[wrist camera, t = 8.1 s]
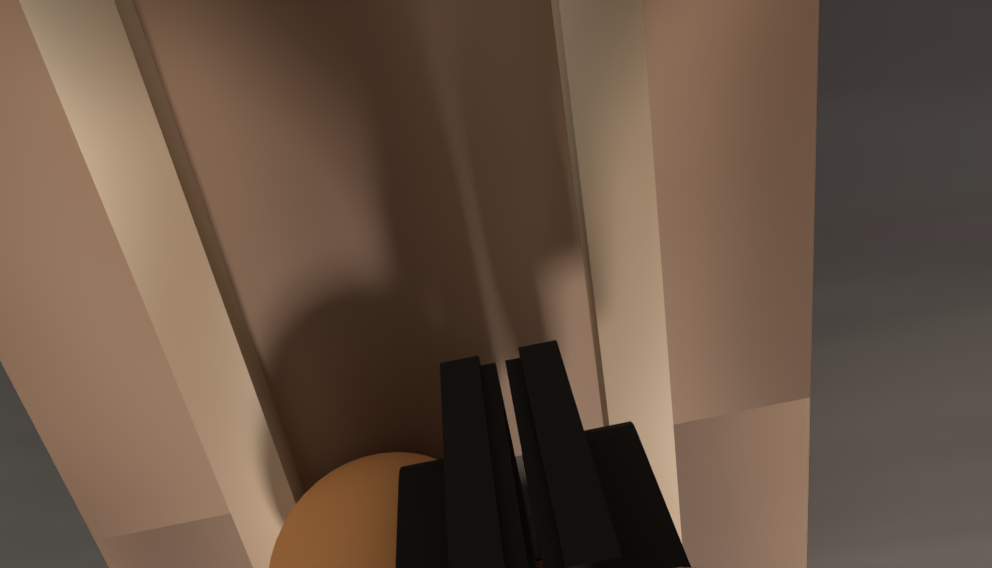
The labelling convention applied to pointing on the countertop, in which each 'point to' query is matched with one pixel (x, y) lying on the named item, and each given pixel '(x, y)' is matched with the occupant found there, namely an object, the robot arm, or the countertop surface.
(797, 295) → the runway
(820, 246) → the countertop surface
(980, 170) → the countertop surface
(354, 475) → the ball
